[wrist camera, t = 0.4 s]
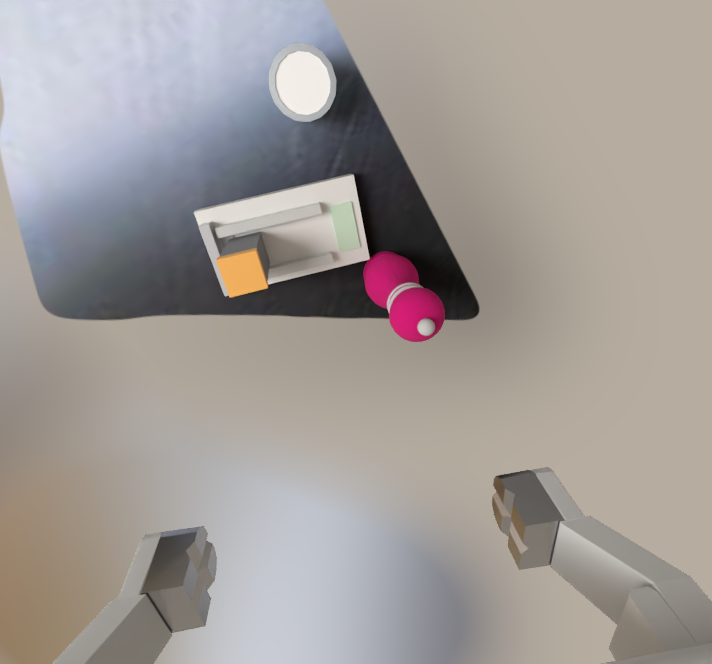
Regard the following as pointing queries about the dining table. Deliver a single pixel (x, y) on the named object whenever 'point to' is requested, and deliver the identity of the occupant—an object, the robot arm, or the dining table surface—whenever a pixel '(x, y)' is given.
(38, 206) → the dining table surface
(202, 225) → the white slider switch base
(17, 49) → the dining table surface
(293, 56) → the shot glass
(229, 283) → the plate
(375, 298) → the pepper mill
